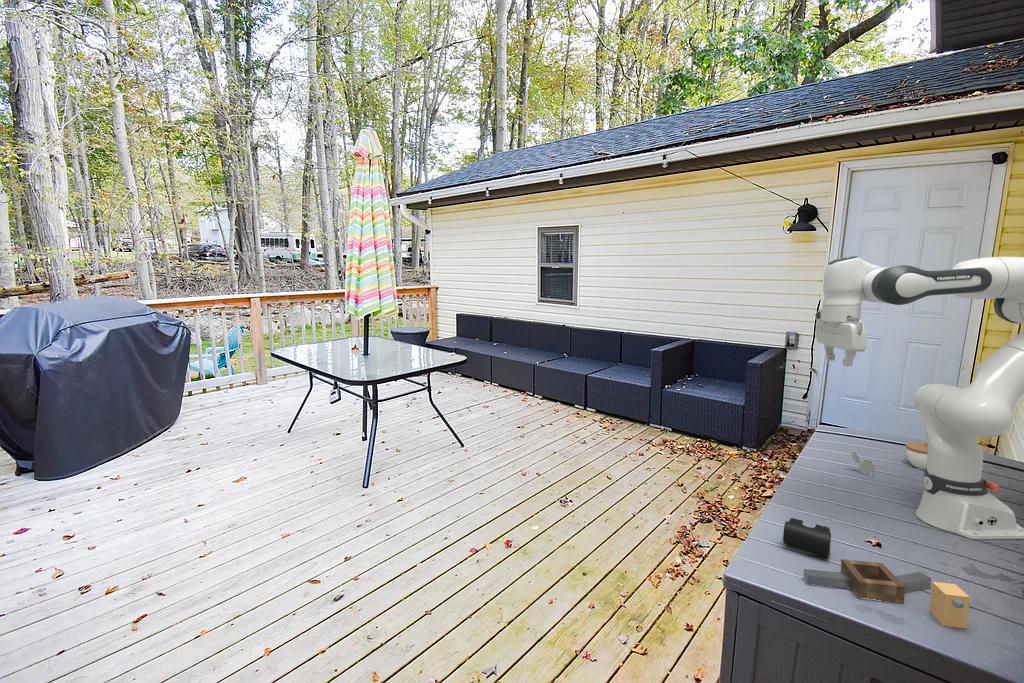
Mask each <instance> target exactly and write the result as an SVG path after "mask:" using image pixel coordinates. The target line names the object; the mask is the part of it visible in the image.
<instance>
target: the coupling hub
mask: <svg viewBox="0 0 1024 683" xmlns="http://www.w3.org/2000/svg"><path fill="white" fill-rule="evenodd" d="M840 573H847V574H848V575H849V576H850V577H851V579H852V590H853V591H854V592H853V591H852V592H853V593H854V595H855V594H856V595H857V596H856V595H855V596H856V597H857V598H858V599H859V598H866V599H867V598H868V599H876V600H881V601H880V602H883V601H890V602H889V603H892V602H898V603H897V604H900V603H904V604H905V594H906V593H905V586H904V585H903V584H902V583H901V582H900V581H899V580H898V579H897V578H896V577H895V574H894V573H893V572H892V571H891V570H890V569H889V567H887V566H886V564H885V563H884V562H876V561H875V562H874V561H864V560H855V559H844V558H842V559H841V561H840Z"/></svg>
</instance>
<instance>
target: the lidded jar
mask: <svg viewBox="0 0 1024 683" xmlns="http://www.w3.org/2000/svg"><path fill="white" fill-rule="evenodd" d="M905 454H906V458H907V460H908V462H909V463H911V465H912V466H913V465H914V466H915V468H916V467H918V468H917V469H919V468H921V469H920V470H923V469H926V468H927V454H928V442H925V441H924V442H920V441H919V442H918V441H911V442H906V444H905ZM914 466H913V467H914Z"/></svg>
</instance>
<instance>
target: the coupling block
mask: <svg viewBox="0 0 1024 683" xmlns="http://www.w3.org/2000/svg"><path fill="white" fill-rule="evenodd" d="M970 598H971V597H970V596H969V595H968V594H967V593H966V592H965V591H964V590H963V589H961V587H959V586H958V585H957V584H956V583H949V582H948V583H947V582H941V581H939V582H938V581H931V592H930V605H929V613H930V612H931V613H932V614H933V615H934V616H933V615H932V614H931V613H930V614H931V615H932V616H933V617H934V619H936V618H937V619H936V620H937V621H938V620H939V622H940V623H941V624H942V625H943V626H942V625H941V624H940V623H939V622H938V623H939V624H940V625H941V626H942V627H945V626H946V627H947V626H948V628H953V627H959V628H958V629H961V628H967V629H968V621H969V610H970Z"/></svg>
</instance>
